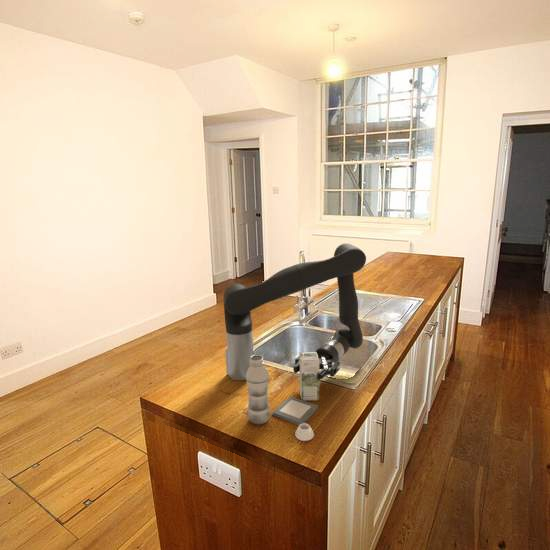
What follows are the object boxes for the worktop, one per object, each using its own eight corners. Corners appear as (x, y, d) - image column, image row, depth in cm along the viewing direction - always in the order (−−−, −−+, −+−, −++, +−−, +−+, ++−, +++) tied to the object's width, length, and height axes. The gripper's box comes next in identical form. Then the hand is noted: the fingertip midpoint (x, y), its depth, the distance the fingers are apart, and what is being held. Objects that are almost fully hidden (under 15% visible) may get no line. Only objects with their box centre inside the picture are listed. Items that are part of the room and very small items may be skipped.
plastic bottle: (252, 412, 116) (249, 351, 111) (273, 415, 114) (271, 354, 109) (244, 425, 110) (240, 361, 105) (266, 429, 108) (264, 364, 103)
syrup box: (316, 391, 126) (316, 350, 123) (319, 401, 120) (319, 359, 117) (299, 392, 126) (298, 351, 122) (301, 402, 120) (300, 359, 117)
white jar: (291, 437, 104) (306, 444, 101) (291, 427, 104) (306, 435, 100) (302, 428, 108) (317, 435, 105) (302, 418, 107) (317, 425, 104)
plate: (272, 415, 114) (272, 411, 114) (290, 399, 122) (290, 396, 122) (301, 426, 108) (301, 422, 108) (318, 408, 116) (318, 405, 116)
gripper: (311, 339, 135) (286, 357, 122) (348, 348, 128) (326, 368, 115) (311, 359, 137) (287, 378, 124) (348, 368, 129) (326, 390, 116)
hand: (306, 373), depth 119 cm, fingers closed on syrup box, 8 cm apart
